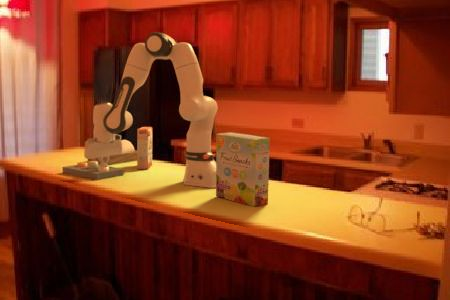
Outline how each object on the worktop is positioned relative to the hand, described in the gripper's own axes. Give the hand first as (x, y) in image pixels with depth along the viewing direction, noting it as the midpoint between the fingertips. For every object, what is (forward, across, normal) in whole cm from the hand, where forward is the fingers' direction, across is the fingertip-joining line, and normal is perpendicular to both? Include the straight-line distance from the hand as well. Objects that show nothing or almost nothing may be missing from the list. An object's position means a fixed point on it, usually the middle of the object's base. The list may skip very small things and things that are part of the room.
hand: (104, 166), depth 234 cm
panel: (+5, 0, +8) cm, 10 cm away
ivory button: (+5, 0, 0) cm, 5 cm away
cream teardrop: (+5, +35, +31) cm, 47 cm away
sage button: (+3, 0, +8) cm, 9 cm away
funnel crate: (+5, +33, +30) cm, 45 cm away
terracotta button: (+5, 0, +16) cm, 17 cm away
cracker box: (+5, +30, +3) cm, 31 cm away
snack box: (+6, +4, -77) cm, 77 cm away
